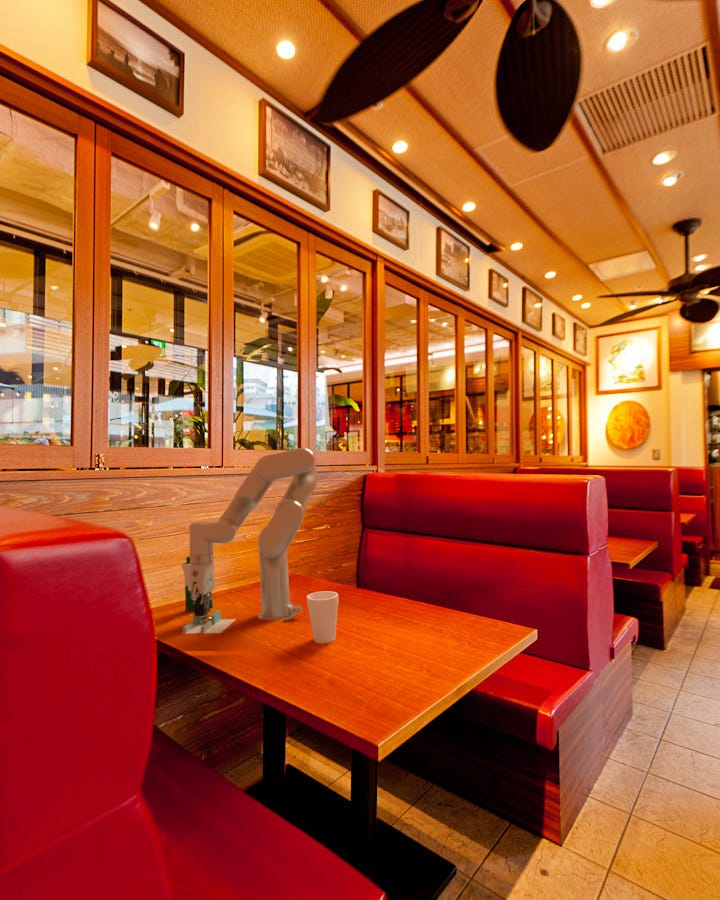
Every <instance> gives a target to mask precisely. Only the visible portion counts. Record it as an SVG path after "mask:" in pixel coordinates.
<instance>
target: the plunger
mask: <svg viewBox="0 0 720 900" xmlns="http://www.w3.org/2000/svg"><path fill="white" fill-rule="evenodd" d="M211 615H212V614H210V615H209V614H208V615H205V616H203V617H201V621H202V622H208V621H211Z"/></svg>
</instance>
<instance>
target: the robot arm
mask: <svg viewBox="0 0 720 900" xmlns="http://www.w3.org/2000/svg"><path fill="white" fill-rule="evenodd" d="M292 476H293V477H292ZM288 477H292V480H291V481H290V484H289V485H288V488H287V489H286V491H285V493H284V494H283V496H282V498H281V499H280V500H279V502H278V503H277V505H276V506H275V510H274V513H273V515H272V518H271V519H270V521H269V523H267V525H265V527H263V529H261V530H260V532H259V534H258V541H257V543H258V556H259V557H258V558H259V559H258V560H259V575H260V578H259V579H260V593H261V594H260V595H261V599H260V600H261V612H260V613H258V615H257V618H258V619H259V620H263V621H275V620H283V622H286V621H289V620H292V619H293V618H294V617H295V615H296V614H297V613H301V614H302V612H303V608H302V606H301V605H294V604H293V602H292V600H291V601H290V587H289V586H290V585H289V584H290V583H289V581H290V580H289V562H288V550H287V549H288V548H289V546H290V544H291V543H292V541H293V540H294V538H295V536H296V534H297V532H298V531H299V529H300V527H301V526H302V523H303V522H304V519H305V508H306V507H307V505H308V503H309V501H310V499H311V497H312V495H313V493H314V492H315V489H316V487H317V483H318V469H317V465H316V456H315V454H314V452H313V451H312V450H311V449H309V448H306V447H299V448H294V449H290V450H286V451H282V452H277V453H272V454H266V455H263V456H261V457H260V458H259V459H258V461H257V462H256V463H255V465H254V466H253V468H251V471H250V472H249V473H248V474H247V476H246V477H245V479H244V481H242V483H241V485H240V486H239V487H238V489H237V490H236V492H235V494H234V497H233V499H232V500H231V502H230V503H229V505H227V508H226V509H225V511H224V512H223V513H222V515H221V516H220V517H219V519H218V521H215V522H211V521H208V520H200V521H198V520H197V521H192V522H191V523H190V525H189V529H188V530H189V533H188V534H189V556H190V564H191V571H190V593H191V594H192V595H191V599H192V600H193V601H194V611H193V612H194V615H195V616H204V603H203V595H205V594H207V593H209V592H210V593H212V591H213V590H215V588H216V574H215V573H216V572H215V564H214V544H224V545H225V544H229V543H230V542H232V541H233V540H234V539H235V536H236V534H237V532H238V530H239V528H240V527H242V524H243V523H244V522H245V520H246V519H247V518H248V516H249V514H250V513H251V512H252V511H253V510H254V509H255V508H256V507H257V506H258V505H259V504H260V503H261V501H262V500H263V498H264V496H265V495H266V493H267V492H268V491H269V489H270V488H271V487H272V485H273V483H275V481H276V480H278V479H284V478H288ZM198 592H199V593H200V594H197V593H198ZM198 596H200V598H199V597H198ZM209 599H210V598H209ZM209 612H211V608H210V600H209V609H208V613H209Z"/></svg>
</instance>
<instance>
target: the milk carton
mask: <svg viewBox="0 0 720 900" xmlns="http://www.w3.org/2000/svg"><path fill="white" fill-rule="evenodd" d="M181 568H182V571H183V576H184V593H185V596H184V597H185V602H184V603H185V610H184V611H185V612H186V611H189V612H190V611H191V612H195V611H194V601H193V600H192V599H191V595H192V594H191V593H190V571H191V564H190V555H188V556H186V562H184V563H182V564H181ZM197 594H199V592H198V593H197ZM209 600H210V609H213V608H214V605H213V596H212V592H211V593H210V599H209Z"/></svg>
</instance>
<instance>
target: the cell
mask: <svg viewBox="0 0 720 900" xmlns="http://www.w3.org/2000/svg"><path fill="white" fill-rule="evenodd" d="M199 594H200V593H199ZM198 597H199V598H200V596H198ZM209 598H210V592H209V593H207V594H205V595H203V603H204V616H207V615H209V612H208V609H209Z"/></svg>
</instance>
